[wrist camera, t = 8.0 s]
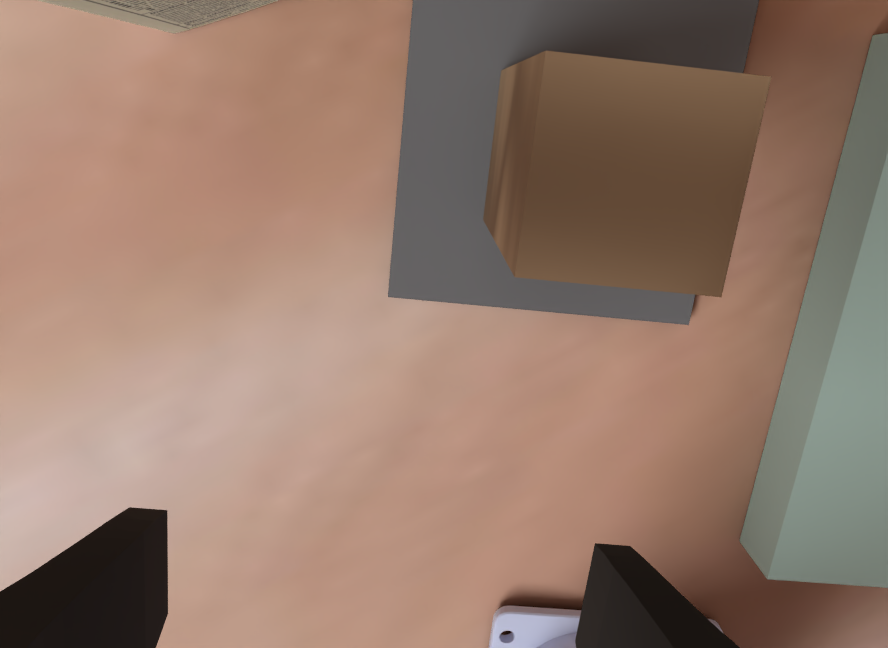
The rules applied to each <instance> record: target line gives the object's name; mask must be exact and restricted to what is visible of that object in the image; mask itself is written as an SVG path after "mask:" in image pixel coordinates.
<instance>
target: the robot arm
mask: <svg viewBox="0 0 888 648" xmlns="http://www.w3.org/2000/svg"><path fill="white" fill-rule="evenodd" d="M167 614H168V557H167V510H155V509H142V508H128V509H126V510H125V511H123V512H122V513H120V514H118V515H117V516H115V517H114V518H112V519H111V520H109V521H108V522H106V523H105V524H103V525H102V526H100V527H99V528H97V529H96V530H94V531H93V532H92V533H90V534H89V535H87V536H86V537H84V538H83V539H81V540H80V541H78V542H77V543H75V544H74V545H72V546H71V547H69V548H68V549H66V550H65V551H63V552H62V553H60V554H59V555H57V556H56V557H54V558H53V559H51V560H50V561H48V562H47V563H45V564H44V565H42V566H41V567H39V568H38V569H36V570H35V571H33V572H32V573H30V574H28V575H27V576H25V577H24V578H22V579H20V580H19V581H17V582H15V583H14V584H12V585H10V586H9V587H7V588H5V589H4V590H2V591H1V592H0V648H156V645H157V643H158V640H159V637H160V634H161V631H162V629H163V626H164V623H165V620H166V617H167ZM503 631H511V632H512V633H510V634H508V635H503V634H501V633H502V632H503ZM489 648H740V647H738V646H737V645H736V644H735V643H734V642H733V641H732V640H730V639H729V638H728V637H727V636H726V635H725V634H724V633H723V631H722V629H721V628H720V626H719V624H718V623H717V622H716V621H715V620H712V619H707V618H706V617H705V616H704V615H703V614H702V613H701V612H699V611H698V610H697V609H696V608H695V607H694V606H693V605H692V604H691V603H690V602H689V601H688V600H687V599H686V598H685V597H684V596H682V595H681V594H680V593H679V592H678V591H677V590H676V589H675V588H674V587H673V586H672V585H671V584H670V583H669V582H668V581H667V580H666V579H665V578H664V577H663V576H662V575H661V574H660V573H659V572H658V571H656V570H655V569H654V568H653V567H652V566H651V565H650V564H649V563H648V562H647V561H646V560H645V559H644V558H643V557H642V556H641V555H640V554H638V553H637V552H636V551H635V550H634V549H633V548H632V547H630V546H622V545H609V544H596V543H595V546H594V551H593V556H592V561H591V566H590V571H589V576H588V580H587V585H586V590H585V595H584V600H583V605H582V610H569V609H554V608H539V607H524V606H503V607H501V608H499V609H498V610H497V611H496V612H495V614H494V616H493V622H492V629H491V635H490V642H489Z"/></svg>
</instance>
